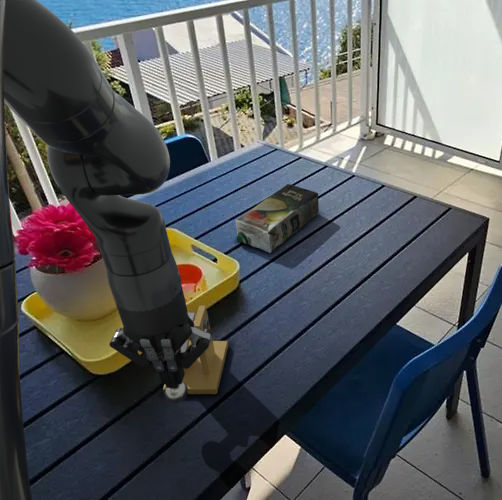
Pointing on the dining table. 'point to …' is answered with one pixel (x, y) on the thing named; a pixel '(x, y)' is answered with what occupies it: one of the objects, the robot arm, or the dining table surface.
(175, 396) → the tap lever
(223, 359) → the bracket
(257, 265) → the dining table surface
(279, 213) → the juice carton
